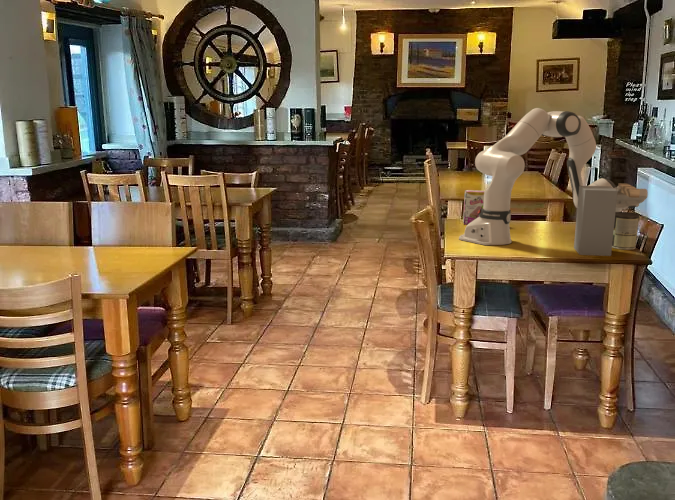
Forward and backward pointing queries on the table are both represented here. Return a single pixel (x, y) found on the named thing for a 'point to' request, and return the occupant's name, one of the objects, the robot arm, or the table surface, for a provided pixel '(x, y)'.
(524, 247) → the table surface
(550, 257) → the table surface
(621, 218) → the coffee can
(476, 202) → the candy bar box
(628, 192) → the beech bar
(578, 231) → the pedestal
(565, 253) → the table surface
